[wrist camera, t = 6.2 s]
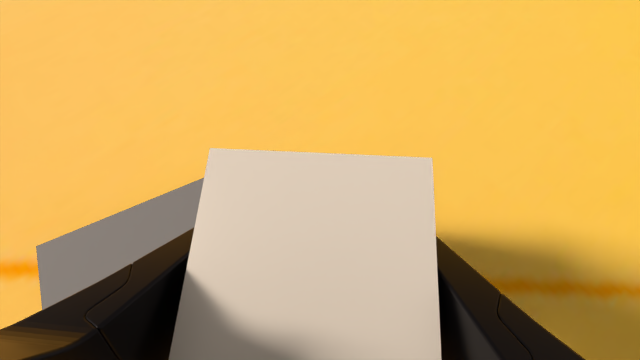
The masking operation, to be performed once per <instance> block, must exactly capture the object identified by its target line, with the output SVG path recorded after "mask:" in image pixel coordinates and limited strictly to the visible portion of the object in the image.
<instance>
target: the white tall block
mask: <svg viewBox="0 0 640 360" xmlns="http://www.w3.org/2000/svg"><path fill="white" fill-rule="evenodd" d="M169 360H441V338H440V316H439V295H438V273H437V251H436V229H435V207H434V185H433V163H432V158H422V157H399V156H377V155H354V154H331V153H308V152H285V151H263V150H240V149H217V148H210V151H209V156H208V161H207V166H206V171H205V176H204V181H203V186H202V191H201V197H200V202H199V207H198V212H197V217H196V222H195V227H194V232H193V237H192V243H191V248H190V253H189V258H188V263H187V268H186V273H185V278H184V283H183V289H182V294H181V299H180V304H179V309H178V314H177V319H176V324H175V329H174V334H173V340H172V345H171V350H170V355H169Z"/></svg>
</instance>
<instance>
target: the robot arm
mask: <svg viewBox="0 0 640 360" xmlns="http://www.w3.org/2000/svg"><path fill="white" fill-rule="evenodd" d="M193 232H194V228H192V229H190V230H188V231H187V232H185V233H183V234H181V235H180V236H178V237H176V238H174V239H173V240H171V241H169V242H167V243H166V244H164V245H162V246H160V247H159V248H157V249H155V250H153V251H152V252H150V253H148V254H146V255H145V256H143V257H141V258H139V259H138V260H136V261H134V262H133V264H129V265H127V266H125V267H124V268H122V269H120V270H118V271H117V272H115V273H113V274H111V275H109V276H108V277H106V278H104V279H102V280H100V281H98V282H97V283H95V284H93V285H91V286H89V287H87V288H85V289H83V290H81V291H79V292H77V293H75V294H73V295H71V296H69V297H67V298H65V299H63V300H61V301H59V302H57V303H55V304H53V305H51V306H49V307H47V308H45V309H43V310H41V311H39V312H37V313H35V314H33V315H31V316H29V317H27V318H25V319H23V320H21V321H19V322H17V323H15V324H13V325H11V326H8V327H6V328H3V329H0V360H169V355H170V350H171V345H172V340H173V334H174V329H175V324H176V319H177V314H178V309H179V304H180V299H181V294H182V289H183V283H184V278H185V273H186V268H187V263H188V258H189V253H190V248H191V243H192V237H193ZM436 251H437V273H438V295H439V316H440V338H441V360H585V359H584V358H582V357H581V356H580V355H579V354H577V353H576V352H575V351H573V350H572V349H571V348H569V347H568V346H567V345H565V344H564V343H563V342H561V341H560V340H559V339H557V338H556V337H555V336H554V335H552V334H551V333H550V332H548V331H547V330H546V329H545V328H543V327H542V326H541V325H539V324H538V323H537V322H536V321H534V320H533V319H532V318H531V317H529V316H528V315H527V314H526V313H525V312H523V311H522V310H521V309H520V308H519V307H517V306H516V305H515V304H514V303H513V302H512V301H510V300H509V299H508V298H507V297H506V296H505V295H504V294H500V291H499V290H498V289H496V288H495V287H494V286H493V285H492V284H491V283H490V282H488V281H487V280H486V279H485V278H484V277H483V276H481V275H480V274H479V273H478V272H477V271H476V270H475V269H473V268H472V267H471V266H470V265H469V264H468V263H466V262H465V261H464V260H463V259H462V258H461V257H460V256H458V255H457V254H456V253H455V252H454V251H453V250H451V249H450V248H449V247H448V246H447V245H446V244H445V243H443V242H442V241H441V240H440V239H439V238H438V237H436Z"/></svg>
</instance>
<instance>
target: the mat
mask: <svg viewBox="0 0 640 360" xmlns="http://www.w3.org/2000/svg"><path fill="white" fill-rule="evenodd" d="M203 181H204V178H202V179H200V180H197V181H195V182H192V183H190V184H188V185H185V186H183V187H180V188H178V189H175V190H173V191H170V192H168V193H166V194H163V195H161V196H158V197H156V198H153V199H151V200H148V201H146V202H144V203H141V204H139V205H136V206H134V207H131V208H129V209H126V210H124V211H122V212H119V213H117V214H114V215H112V216H109V217H107V218H104V219H102V220H100V221H97V222H95V223H92V224H90V225H87V226H85V227H82V228H80V229H78V230H75V231H73V232H70V233H68V234H65V235H63V236H60V237H58V238H56V239H53V240H51V241H48V242H46V243H43V244H41V245H38V246H36V249H37V260H38V270H39V280H40V291H41V301H42V310H43V309H45V308H47V307H49V306H51V305H53V304H55V303H57V302H59V301H61V300H63V299H65V298H67V297H69V296H71V295H73V294H75V293H77V292H79V291H81V290H83V289H85V288H87V287H89V286H91V285H93V284H95V283H97V282H98V281H100V280H102V279H104V278H106V277H108V276H109V275H111V274H113V273H115V272H117V271H118V270H120V269H122V268H124V267H125V266H127V265H129V264H133V262H134V261H136V260H138V259H139V258H141V257H143V256H145V255H146V254H148V253H150V252H152V251H153V250H155V249H157V248H159V247H160V246H162V245H164V244H166V243H167V242H169V241H171V240H173V239H174V238H176V237H178V236H180V235H181V234H183V233H185V232H187V231H188V230H190V229H192V228H194V227H195V222H196V217H197V212H198V207H199V202H200V197H201V191H202V186H203Z"/></svg>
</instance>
